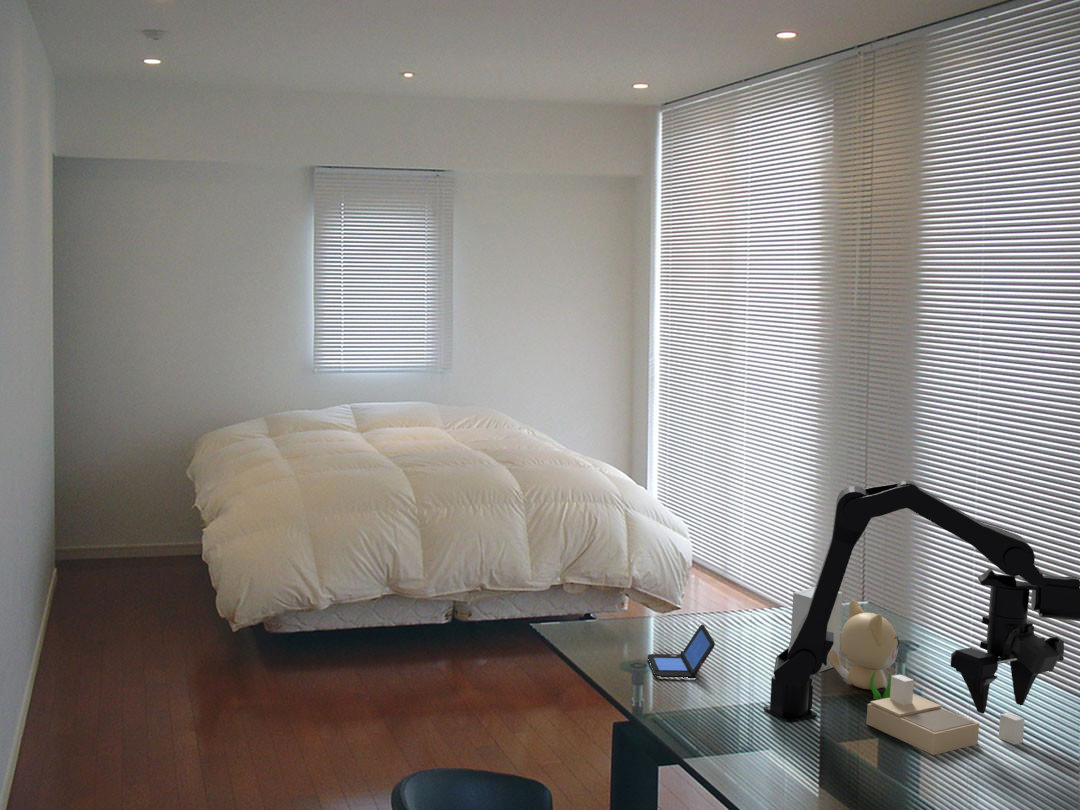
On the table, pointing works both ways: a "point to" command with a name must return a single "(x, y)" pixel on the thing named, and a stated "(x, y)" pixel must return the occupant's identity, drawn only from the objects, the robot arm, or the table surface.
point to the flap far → (904, 698)
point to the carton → (926, 729)
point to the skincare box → (800, 609)
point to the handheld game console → (684, 657)
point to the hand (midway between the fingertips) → (1000, 708)
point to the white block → (1011, 728)
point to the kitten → (866, 650)
